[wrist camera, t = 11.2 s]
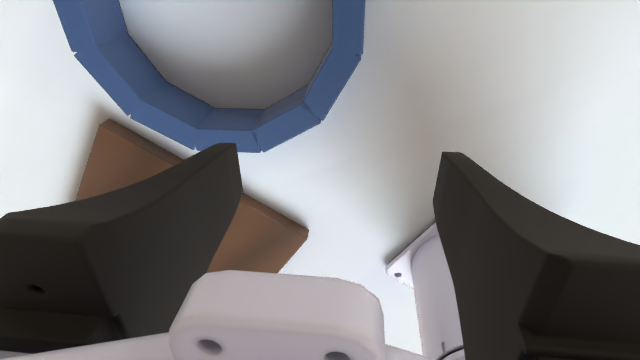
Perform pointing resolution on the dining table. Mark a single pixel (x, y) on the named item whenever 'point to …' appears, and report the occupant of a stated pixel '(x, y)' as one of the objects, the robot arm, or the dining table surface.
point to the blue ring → (184, 109)
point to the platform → (149, 159)
